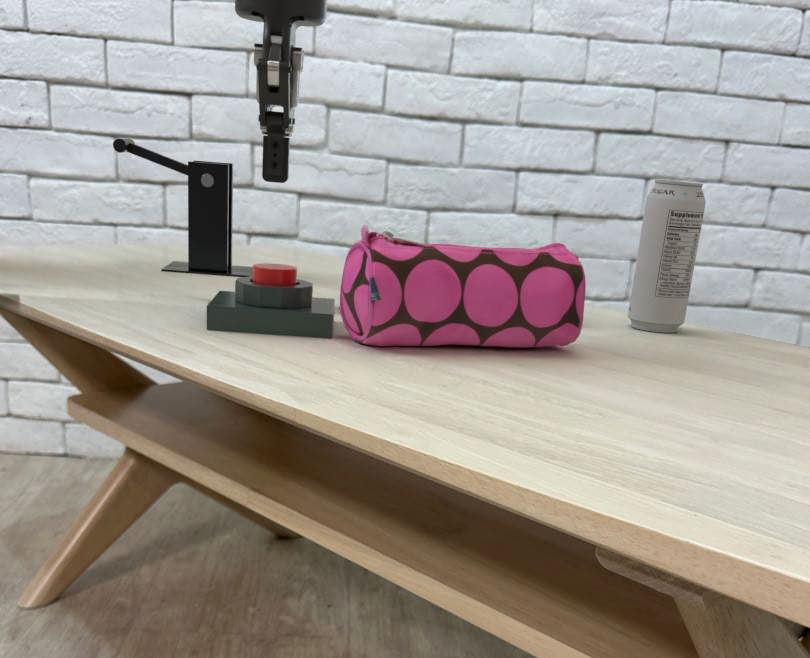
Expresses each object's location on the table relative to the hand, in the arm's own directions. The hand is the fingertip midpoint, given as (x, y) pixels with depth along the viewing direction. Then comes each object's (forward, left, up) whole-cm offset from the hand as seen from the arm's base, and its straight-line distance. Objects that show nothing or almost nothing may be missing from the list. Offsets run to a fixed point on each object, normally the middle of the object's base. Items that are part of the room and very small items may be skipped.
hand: (275, 181), depth 87 cm
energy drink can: (+24, +35, -13) cm, 44 cm away
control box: (0, 0, -13) cm, 13 cm away
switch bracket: (-24, +17, -13) cm, 32 cm away
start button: (0, 0, -9) cm, 9 cm away
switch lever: (-28, +14, -1) cm, 31 cm away
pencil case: (+16, +7, -13) cm, 22 cm away
